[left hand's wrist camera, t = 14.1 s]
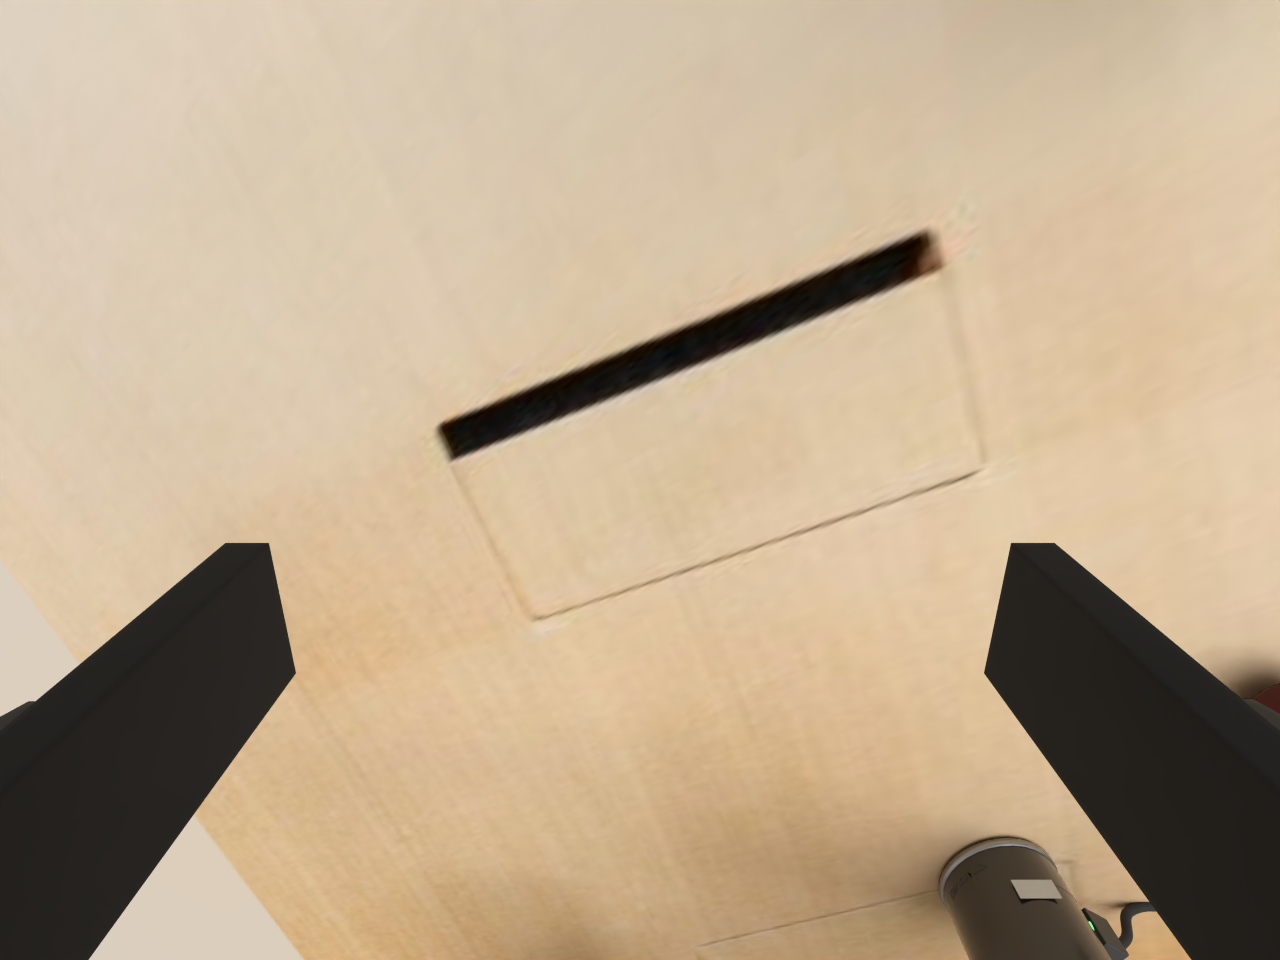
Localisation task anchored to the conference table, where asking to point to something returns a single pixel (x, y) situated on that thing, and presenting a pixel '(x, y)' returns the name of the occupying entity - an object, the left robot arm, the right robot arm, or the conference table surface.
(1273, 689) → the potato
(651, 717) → the conference table surface
